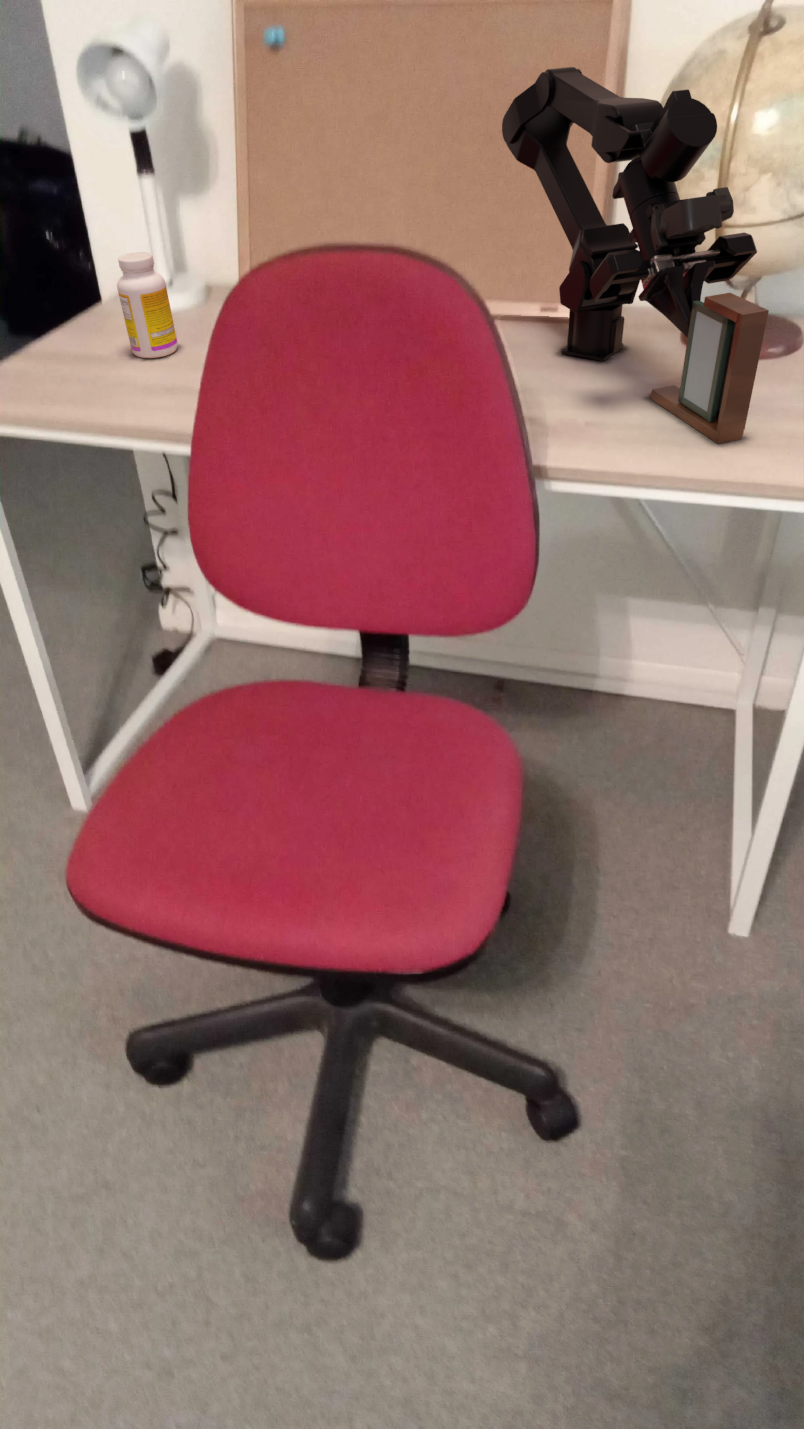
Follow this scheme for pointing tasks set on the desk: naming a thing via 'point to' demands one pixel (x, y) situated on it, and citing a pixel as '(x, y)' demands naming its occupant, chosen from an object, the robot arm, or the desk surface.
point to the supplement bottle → (146, 307)
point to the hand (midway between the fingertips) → (693, 336)
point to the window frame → (727, 371)
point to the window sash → (705, 361)
